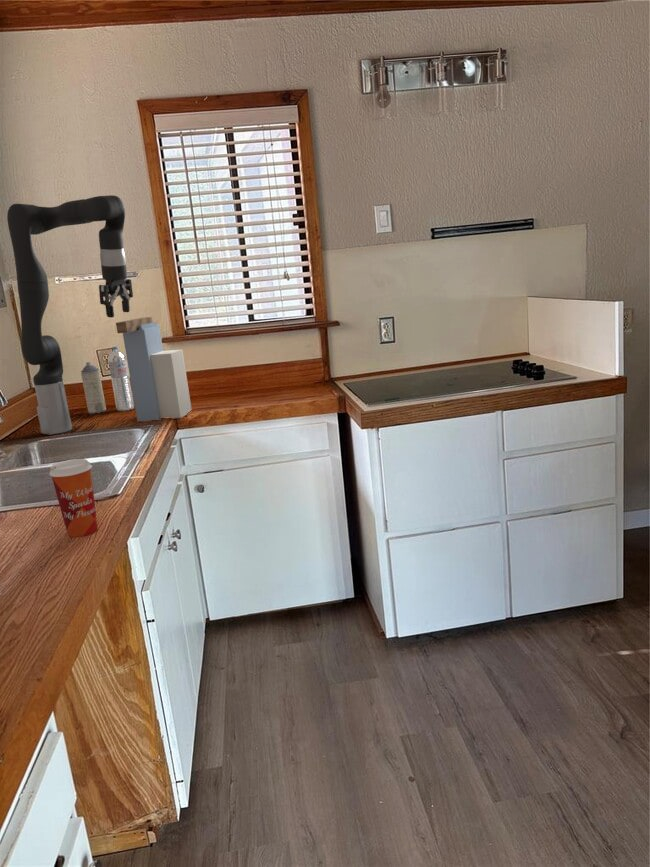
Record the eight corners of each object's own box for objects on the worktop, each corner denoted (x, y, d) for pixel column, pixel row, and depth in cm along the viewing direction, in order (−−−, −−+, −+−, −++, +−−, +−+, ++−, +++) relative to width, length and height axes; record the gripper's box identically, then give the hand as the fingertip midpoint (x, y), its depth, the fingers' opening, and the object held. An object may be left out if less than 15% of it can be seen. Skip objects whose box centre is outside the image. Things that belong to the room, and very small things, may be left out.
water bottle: (133, 406, 257) (123, 345, 251) (135, 409, 251) (124, 346, 245) (116, 409, 255) (105, 347, 249) (117, 412, 249) (106, 348, 243)
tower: (158, 420, 225) (143, 325, 217) (137, 421, 227) (121, 327, 219) (172, 412, 238) (158, 321, 230) (152, 413, 239) (137, 323, 231)
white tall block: (180, 417, 226) (170, 353, 220) (160, 419, 227) (150, 355, 222) (191, 411, 237) (182, 349, 231) (172, 412, 238) (163, 350, 232)
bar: (127, 332, 210) (125, 321, 210) (117, 333, 211) (115, 322, 210) (153, 326, 230) (151, 316, 230) (144, 327, 231) (142, 317, 230)
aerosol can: (110, 410, 255) (101, 360, 250) (97, 414, 249) (88, 363, 244) (97, 410, 258) (88, 361, 253) (84, 413, 252) (75, 363, 247)
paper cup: (68, 543, 120) (53, 472, 117) (57, 532, 126) (43, 465, 123) (109, 530, 124) (96, 462, 121) (97, 520, 130) (84, 455, 127)
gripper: (109, 267, 193) (115, 320, 199) (136, 261, 205) (141, 311, 212) (88, 265, 195) (95, 318, 201) (116, 259, 207) (121, 309, 214)
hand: (118, 314), depth 206 cm, fingers open, 8 cm apart
